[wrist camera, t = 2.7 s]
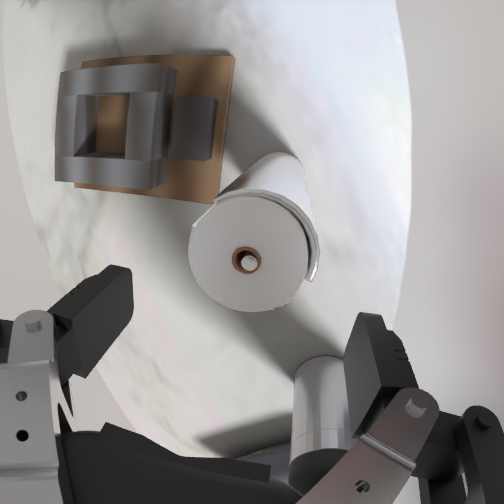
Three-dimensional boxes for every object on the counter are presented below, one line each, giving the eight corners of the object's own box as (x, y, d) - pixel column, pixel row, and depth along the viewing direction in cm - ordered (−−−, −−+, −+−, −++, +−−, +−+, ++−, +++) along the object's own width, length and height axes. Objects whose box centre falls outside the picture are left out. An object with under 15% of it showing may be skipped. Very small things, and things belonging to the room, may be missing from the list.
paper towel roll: (262, 211, 39) (213, 334, 16) (243, 162, 37) (159, 220, 14) (313, 195, 38) (336, 304, 15) (295, 144, 36) (295, 172, 13)
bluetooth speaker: (242, 469, 62) (235, 503, 53) (217, 450, 60) (208, 487, 51) (332, 445, 55) (333, 485, 46) (311, 424, 53) (310, 467, 44)
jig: (235, 58, 33) (223, 45, 27) (218, 202, 40) (203, 215, 34) (88, 63, 34) (60, 57, 28) (80, 185, 41) (52, 195, 35)
